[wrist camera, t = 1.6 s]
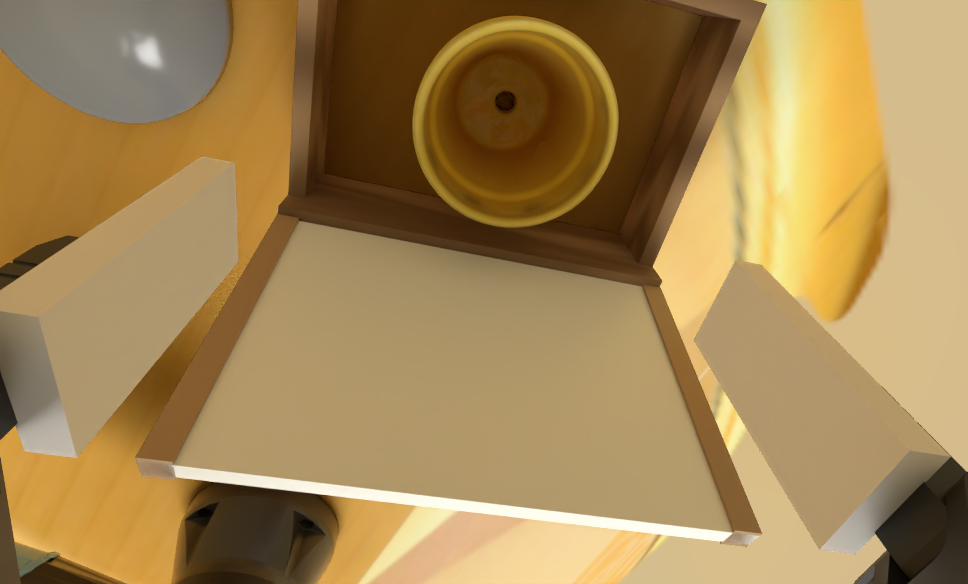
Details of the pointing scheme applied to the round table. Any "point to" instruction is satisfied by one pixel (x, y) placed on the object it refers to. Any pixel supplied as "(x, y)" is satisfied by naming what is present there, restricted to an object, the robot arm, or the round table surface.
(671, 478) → the lid
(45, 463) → the round table surface
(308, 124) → the cold frame
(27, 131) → the round table surface
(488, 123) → the plant pot
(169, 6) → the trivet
